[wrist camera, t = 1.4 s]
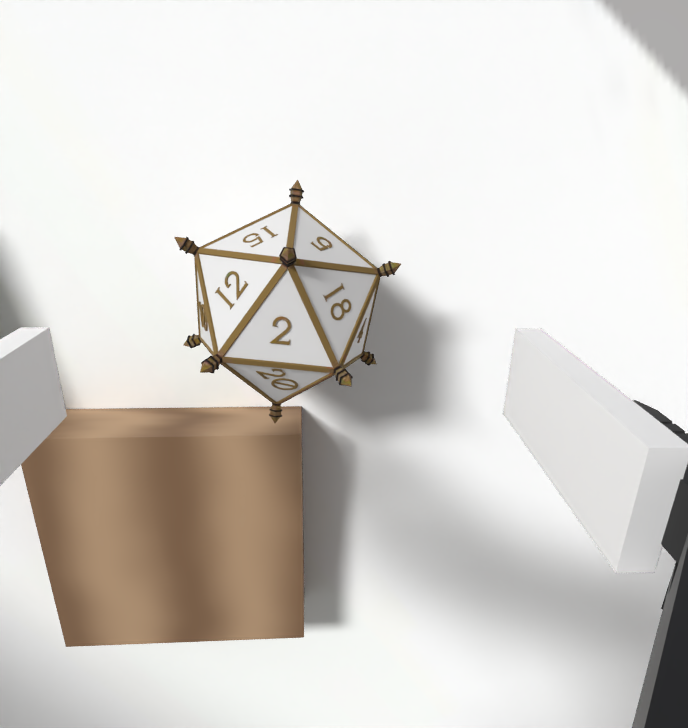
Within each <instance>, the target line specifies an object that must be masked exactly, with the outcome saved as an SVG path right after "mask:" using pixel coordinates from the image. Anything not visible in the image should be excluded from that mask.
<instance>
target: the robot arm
mask: <svg viewBox="0 0 688 728" xmlns="http://www.w3.org/2000/svg"><path fill="white" fill-rule="evenodd" d="M503 415H504V416H505V417H506V419H507V420H508V422H509V423H510V424H511V426H512V427H513V429H514V430H515V432H516V433H517V434H518V436H519V437H520V439H521V440H522V441H523V443H524V444H525V446H526V447H527V449H528V450H529V451H530V453H531V454H532V456H533V457H534V458H535V460H536V461H537V463H538V464H539V465H540V467H541V468H542V470H543V471H544V473H545V474H546V475H547V477H548V478H549V480H550V481H551V482H552V484H553V485H554V487H555V488H556V490H557V491H558V492H559V494H560V495H561V497H562V498H563V499H564V501H565V502H566V504H567V505H568V507H569V508H570V509H571V511H572V512H573V514H574V515H575V516H576V518H577V519H578V521H579V522H580V524H581V525H582V526H583V528H584V529H585V531H586V532H587V533H588V535H589V536H590V538H591V539H592V540H593V542H594V543H595V545H596V546H597V548H598V549H599V550H600V552H601V553H602V555H603V556H604V557H605V559H606V560H607V562H608V563H609V565H610V566H611V567H612V569H613V570H614V572H615V573H655V569H656V566H657V563H658V560H659V556H660V553H661V550H662V546H663V547H664V548H665V549H666V550H667V552H668V553H669V554H670V555H671V556H672V557H673V558H674V560H675V561H676V564H675V567H674V570H673V573H672V576H671V580H670V583H669V586H668V589H667V592H666V595H665V598H664V602H663V605H662V608H661V609H663V611H662V615H661V618H660V622H659V626H658V630H657V634H656V638H655V641H654V645H653V649H652V653H651V657H650V661H649V664H648V668H647V672H646V676H645V680H644V684H643V687H642V691H641V695H640V699H639V703H638V707H637V710H636V714H635V718H634V722H633V726H632V728H688V433H687V434H685V431H684V430H683V429H681V428H680V427H679V426H677V425H676V424H672V421H671V420H669V419H668V418H667V417H665V416H664V415H663V414H661V413H660V412H659V411H658V410H656V409H653V408H651V407H649V406H647V405H645V404H642V403H640V402H638V401H636V400H631V399H630V398H629V397H627V396H626V395H625V394H624V393H622V392H621V391H620V390H619V389H617V388H616V387H615V386H614V385H612V384H611V383H610V382H608V381H607V380H606V379H605V378H603V377H602V376H601V375H600V374H598V373H597V372H596V371H594V370H593V369H592V368H591V367H589V366H588V365H587V364H586V363H584V362H583V361H582V360H581V359H579V358H578V357H577V356H575V355H574V354H573V353H572V352H570V351H569V350H568V349H567V348H565V347H564V346H563V345H561V344H560V343H559V342H558V341H556V340H555V339H554V338H553V337H551V336H550V335H549V334H548V333H546V332H545V331H544V330H542V329H515V334H514V341H513V348H512V355H511V362H510V369H509V375H508V382H507V389H506V396H505V403H504V410H503ZM66 417H67V414H66V409H65V404H64V399H63V394H62V389H61V384H60V379H59V374H58V369H57V364H56V359H55V354H54V349H53V344H52V339H51V334H50V329H49V327H21V328H19V329H17V330H15V331H14V332H12V333H10V334H9V335H7V336H5V337H3V338H2V339H0V486H1V485H2V484H3V483H4V481H5V480H6V479H7V478H8V477H9V476H10V475H11V474H12V473H13V472H14V471H15V470H16V469H17V468H18V467H19V466H20V465H21V464H22V463H23V462H24V461H25V460H26V459H27V457H28V456H29V455H30V454H31V453H32V452H33V451H34V450H35V449H36V448H37V447H38V446H39V445H40V444H41V443H42V442H43V441H44V440H45V439H46V438H47V437H48V436H49V434H50V433H51V432H52V431H53V430H54V429H55V428H56V427H57V426H58V425H59V424H60V423H61V422H62V421H63V420H64V419H65V418H66Z"/></svg>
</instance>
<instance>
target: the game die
mask: <svg viewBox="0 0 688 728" xmlns="http://www.w3.org/2000/svg"><path fill="white" fill-rule="evenodd" d="M289 190H290V191H291V195H289V197H291V204H289V205H287V206H285V207H283V208H281V209H279V210H277V211H274V212H272V213H270V214H268V215H266V216H264V217H262V218H260V219H258V220H256V221H254V222H251V223H249V224H247V225H245V226H243V227H241V228H239V229H237V230H235V231H233V232H231V233H228V234H226V235H224V236H222V237H220V238H218V239H216V240H214V241H212V242H210V243H208V244H205V245H203V246H201V247H197V246H196V245H195V244H194V241H190V240H189V238H188V237H186V238H181V237H175V239H176V241H177V243H178V245H179V247H180V249H179V250H181V249H182V250H184V251H186V252H185V253H186V254H187V253H191V254H193V255H194V257H195V275H196V292H197V310H198V328H199V335H195V334H193V336H190V335H189V336H188V338H187V340H186V342H185V343H184V345H185V346H189V347H190V348H193V347H196V346H198V345H200V343H201V342H202V343H203V344H204V346H205V347H206V348H207V349H208V350H209V352H210V353H211V354H212V355H213V357H212V356H210V357H209V358H208V359H205V360H204V361H203V362H202V367H201V371H200V373H201V372H210V373H214V370H215V369H217V370H218V369H219V364H221V365H223V366H224V367H225V368H227V369H228V370H229V371H231V372H232V373H233V374H235V375H236V376H237V377H239V378H240V379H241V380H243V381H244V382H245V383H247V384H248V385H249V386H251V387H252V388H253V389H255V390H256V391H257V392H259V393H260V394H261V395H263V396H264V397H265V398H267V399H268V400H269V401H271V402H272V407H271V408H270V414H269V416H270V417H271V418H272V420H273V422H274V424H275V423H276V422H277V421H278V419H279V418H280V417H282V415H281V411H282V409H281V406H280V405H281V403H283V402H285V401H287V400H289V399H291V398H292V397H294V396H296V395H298V394H300V393H302V392H304V391H306V390H307V389H309V388H311V387H313V386H315V385H317V384H319V383H321V382H322V381H324V380H326V379H328V378H330V377H332V376H334V375H336V381H339V385H346V386H351V379H352V378H353V377H352V376H351V375H350V374H349V373H348V372H347V371H346V369H345V368H346V367H348V366H349V365H350V364H352V363H353V362H355V361H356V360H357V359H359V358H361V359H362V360H361V361H363V362H365V364H367V365H370V364H376V361H375V359H374V354H370V352H364V348H365V343H366V339H367V334H368V330H369V325H370V321H371V316H372V312H373V308H374V303H375V299H376V294H377V290H378V285H379V281H380V277H381V276H387V277H389V275H391V274H393V275H395V274H394V273H395V272H396V270H397V269H398V268H399V266H400V265H401V264H399V263H392V262H391V261H388V263H387V264H383V265H382V266H381V267H380V268H377V267H375V266H374V265H373V264H372V263H371V262H369V261H368V260H367V259H366V258H364V257H363V256H362V255H361V254H359V253H358V252H357V251H356V250H355V249H353V248H352V247H351V246H350V245H348V244H347V243H346V242H345V241H344V240H342V239H341V238H340V237H339V236H337V235H336V234H335V233H334V232H332V231H331V230H330V229H329V228H328V227H326V226H325V225H324V224H323V223H321V222H320V221H319V220H318V219H316V218H315V217H314V216H313V215H312V214H310V213H309V212H308V211H307V210H305V209H304V208H303V207H302V206H301V205H300V201H301V198H303V197H302V192H304V191H303V190H302V188H301V186H300V183H299V181H298V180H297V181H296V183H295V184H294V185H293V187H292V188H291V189H289ZM351 387H352V386H351Z"/></svg>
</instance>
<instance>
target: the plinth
mask: <svg viewBox="0 0 688 728" xmlns="http://www.w3.org/2000/svg"><path fill="white" fill-rule="evenodd" d="M270 408H271V407H217V408H132V409H66V414H67V417H66V418H65V419H64V420H63V421H62V422H61V423H60V424H59V425H58V426H57V427H56V428H55V429H54V430H53V431H52V432H51V433H50V434H49V436H48V437H47V438H46V439H45V440H44V441H43V442H42V443H41V444H40V445H39V446H38V447H37V448H36V449H35V450H34V451H33V452H32V453H31V454H30V455H29V456H28V457H27V459H26V460H25V461H24V462H23V463H22V464H21V466H22V470H23V474H24V478H25V482H26V486H27V490H28V494H29V498H30V502H31V506H32V510H33V514H34V519H35V523H36V527H37V531H38V535H39V539H40V543H41V547H42V551H43V555H44V559H45V563H46V567H47V571H48V575H49V579H50V583H51V588H52V592H53V596H54V600H55V604H56V608H57V612H58V616H59V620H60V624H61V628H62V632H63V636H64V640H65V644H66V647H71V646H96V645H122V644H147V643H173V642H198V641H224V640H249V639H275V638H300V637H304V542H303V473H302V406H301V407H281V409H282V411H281V415H282V417H280V418H279V419H278V421H277V422H276V423H275V424H274V422H273V420H272V418H271V417H270V416H269V414H270Z"/></svg>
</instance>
